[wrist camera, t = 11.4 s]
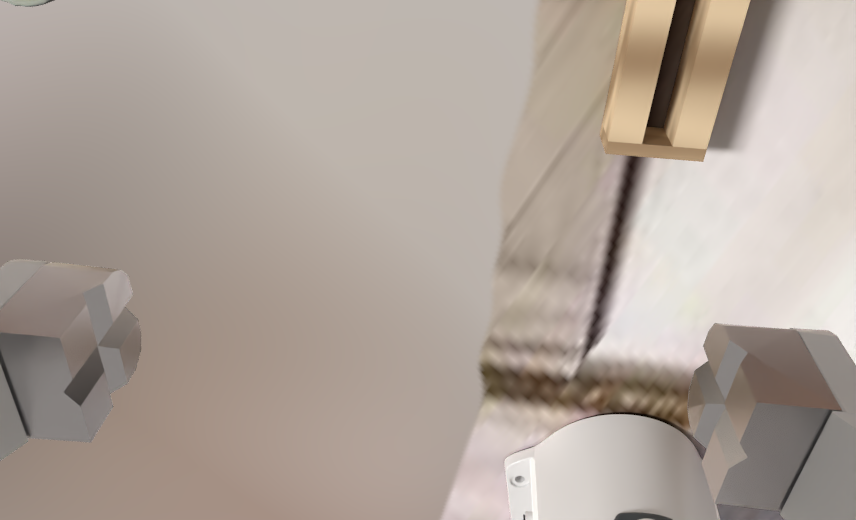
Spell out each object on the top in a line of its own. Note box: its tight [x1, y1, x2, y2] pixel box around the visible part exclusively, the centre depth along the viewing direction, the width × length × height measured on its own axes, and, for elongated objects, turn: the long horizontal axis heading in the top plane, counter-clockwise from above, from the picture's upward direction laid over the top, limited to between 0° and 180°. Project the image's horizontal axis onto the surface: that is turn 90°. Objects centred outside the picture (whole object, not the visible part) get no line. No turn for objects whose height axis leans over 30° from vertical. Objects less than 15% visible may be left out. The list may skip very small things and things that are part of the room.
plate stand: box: [600, 0, 750, 162], centre depth 41 cm, size 11×6×3 cm, turn 177°
